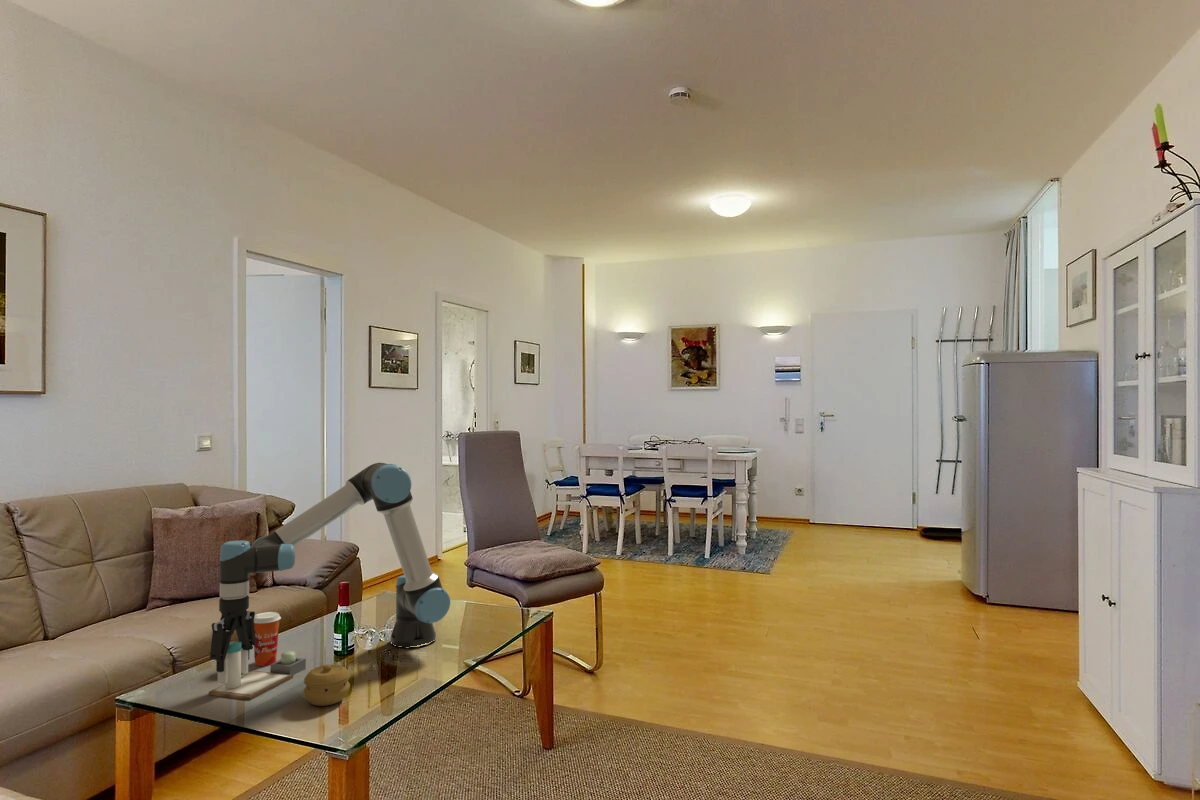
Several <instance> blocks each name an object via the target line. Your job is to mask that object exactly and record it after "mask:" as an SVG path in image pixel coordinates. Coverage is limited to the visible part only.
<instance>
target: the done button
mask: <svg viewBox="0 0 1200 800" xmlns="http://www.w3.org/2000/svg"><path fill="white" fill-rule="evenodd" d="M280 658H281V659H280V660H281V664H285V665H290V664H293V663H295V660H296V658H297V657H296V651H294V650H289V651H283V652H282V653H281V654H280Z"/></svg>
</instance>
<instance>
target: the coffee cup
mask: <svg viewBox="0 0 1200 800" xmlns="http://www.w3.org/2000/svg"><path fill="white" fill-rule="evenodd" d="M280 620H282V617H281V615H280V613H279V612H276V611H267V612H260V613H257V614H256V613H255V616H254V628H255V641H256V643H255V645H253V651H254V652H253V653H254V654H253V655H254V664H255V666H257V667H267V666H270V664H272V663H274V662H277V656H278V641H279V627H280Z"/></svg>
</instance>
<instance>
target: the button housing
mask: <svg viewBox="0 0 1200 800" xmlns="http://www.w3.org/2000/svg"><path fill="white" fill-rule="evenodd" d="M306 665H307V659H306V658H303V657H296V660H295V663H293V664H290V665H285V664H281V659H279V660H276V662H274V663H272V664H270V665H269V666H270V668H269V669H270V670H269V671H270V672H271V673H279V674H288V675H293V676H294V675H296V674H297V673H298V674H299V673H300V672H302V671H304V670H306V667H307V666H306Z"/></svg>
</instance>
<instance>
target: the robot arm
mask: <svg viewBox="0 0 1200 800" xmlns="http://www.w3.org/2000/svg"><path fill="white" fill-rule="evenodd" d="M411 489H412V479H411V476H410V475H409V473H408V472H407V471H406V470H405V469H404V468H402V467H401V466H399V465H397V464H393V463H384V462H376V463H372V464H370V465H368V466H366V467H365V468H363V469H362V470H361V471H359V472H357V474H355V475H353V476H352V477H350V478H349V479H348V480H346V481H345V485H344V486H342V487H341V488H339V489H338V490H336V491H335V492H333V493H332V494H331V493H330V495H329V496H327V497H325V498H323V499H322V500H321V501H319V502H317V503H316V504H314V505H313V506H312V507H310V508H308V509H307V510H305V511H303V512H302V513H300V514H299V515H298V516H296V517H295V518H293V519H292V520H290V521H287V523H285V524H283V525H282V526H281V527H279V528H277V529H276V530H274V531H273V532H271V533H269V534H268V535H266V536H262V537H259V538H257V539H255V541H254V542H253V543H252V545H251V544H250V541H248V540H243V539H241V540H230V541H229V540H228V541H226V542H223V543H222V544H221V546H220V553H219V597H220V598H219V600H218V611H219V612H220V613H221V615H220V619H219V621H217V622H213V623H212V624H211V630H212V634H211V635H212V636H211V643H210V646H211V647H210V655H209V659H210V660H212V661H215V662H216V672H217V684H226V683H228V659H225V658H226V654H227V651H228V647H229V643H230V642H231V638H232V635H234V633H235V632H236V635H237V639H238V641H240V642H241V674H244V675H246V674H248V673H249V660H250V653H251V651H252V650H254V645H255V643H256V641H255V628H254V616H255V615H256V612H255V611H250V610H248V609H249V608H250V596H249V594H250V575H251V574H258V573H260V574H261V573H268V572H283V571H286V570H291V569H293V568H294V566H295V563H296V562H295V561H296V551H295V547H296V546H298V545H299V544H301V543H302V542H303V541H305V540H307V539H309V538H310V537H311V536H313V535H314V534H316V533H318V532H319V531H320V530H322V529H323V528H325V527H326V526H328V525H329V524H331V523H332V522H334V521H335V520H337V519H338V518H341V516H343V515H345V514H346V513H347V512H349V511H350V510H352V509H354V508H355V507H357V506H358V505H362V506H364V505H365V504H367V503H368V502H370V501H372V500H373V502H374V506H375V508H376V511H377V512H378V513H381V514H382V515H383V517H384V520H385V523H386V525H387V529H388V532H389V534H390V537H391V540H392V544H393V546H394V549H395V552H396V554H397V557H398V560H399V564H400V566H401V567H400V568H401V570H402V573H403V575H400V576H398V577H397V579H396V585H395V611H396V612H395V622H394V624H393V628H392V631H391V634H390V643H391V642H392V644H394V645H396V646H402V647H410V646H417V645H421V644H425V643H429V642H431V641H433V640H435V638H436V639H437V633H436V631H435V630H436V629H435V627H434V623H437V622H439V621H441V620H442V619H444V618H445V616H446V615H447V614H448V611H449V610H450V608H451V596H450V595H449V593H448V591H447V590H446V589H445V588H443V585H442V582H441V579H440V577H439V574H438V573H437V572H434V571H433V570H432V568H431V564H430V562H429V561H430V560H429V559H428V556H427V553H426V550H425V546H424V544H423V540H422V537H421V535H420V531H419V529H418V528H419V527H418V525H417V523H416V519H415V516H414V513H413V511H412V507H411V504H412V501H413V498H414V497H413V495H412V492H411ZM435 641H436V640H435ZM250 650H251V651H250Z"/></svg>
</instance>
